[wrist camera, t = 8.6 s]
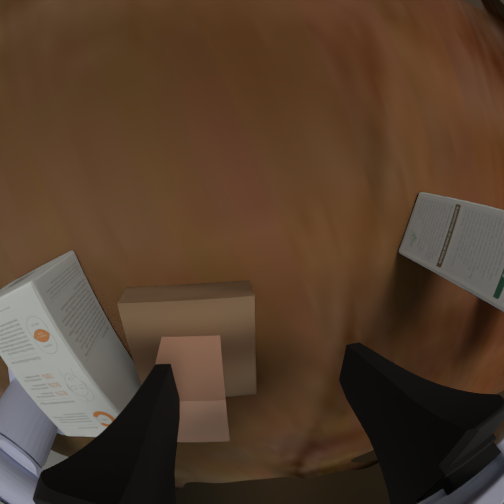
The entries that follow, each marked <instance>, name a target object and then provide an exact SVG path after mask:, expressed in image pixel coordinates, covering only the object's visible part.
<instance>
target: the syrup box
mask: <svg viewBox="0 0 504 504" xmlns="http://www.w3.org/2000/svg"><path fill="white" fill-rule="evenodd" d="M398 252H399V253H400V254H401V255H403V256H405V257H407V258H409V259H411V260H413V261H414V262H416V263H418V264H420V265H421V266H423V267H425V268H427V269H429V270H431V271H433V272H434V273H436V274H438V275H440V276H442V277H443V278H445V279H447V280H449V281H450V282H452V283H454V284H456V285H458V286H459V287H461V288H463V289H464V290H466V291H468V292H469V293H471V294H473V295H475V296H477V297H478V298H480V299H482V300H484V301H486V302H487V303H489V304H491V305H492V306H494V307H496V308H498V309H499V310H501V311H503V312H504V210H502V209H498V208H494V207H490V206H486V205H483V204H478V203H473V202H469V201H465V200H460V199H455V198H451V197H446V196H441V195H436V194H431V193H425V192H420V193H419V195H418V197H417V200H416V203H415V206H414V208H413V211H412V214H411V217H410V220H409V223H408V226H407V229H406V232H405V234H404V237H403V240H402V243H401V245H400V248H399V251H398Z"/></svg>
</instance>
